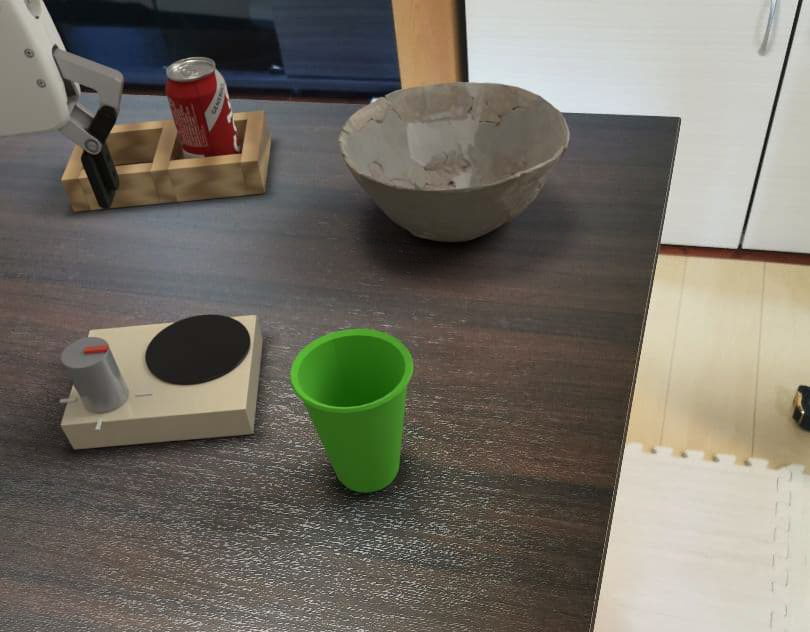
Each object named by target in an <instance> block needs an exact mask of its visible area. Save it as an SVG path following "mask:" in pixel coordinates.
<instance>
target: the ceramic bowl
mask: <svg viewBox="0 0 810 632" xmlns="http://www.w3.org/2000/svg"><path fill="white" fill-rule="evenodd" d="M570 134H571V133H570V128H569V125H568V123H567V121H566V119H565V116H564V115H563V113H562V112H561V111H560V110H559V109H558V108H557V107H555V106H554V105H552V103H551V102H549V101H548V100H546V99H545V98H544V97H542V96H541V95H539V94H537V93H534V92H532V91H530V90H528V89H525V88H522V87H519V86H515V85H509V84H505V83H499V82H475V81H472V82H471V81H470V82H463V81H454V82H453V81H452V82H442V83H435V84H425V85H424V86H422V85H421V86H414V87H408V88H401V89H397V90H394V91H392V92H390V93H387V94H385V95H384V97H383V96H380V97H378V98H377V99H376V100H374V101H372V102H371V103H369V104H366V105H365V106H362V107H361V108H360V109H358V110H356V111H355V112H354V113H353V114H352V115H351V116H349V117H348V119H346V120H345V122H344V124H343V126H342V128H341V131H340V132H339V133H338V142H337V143H338V149H339V152H340V155H341V156H342V160H343V161H344V162H345V164H346V167H347V168H348V170H349V172H350V173H351V174H352V176H353V177H354V179H355V180H356V182H357V183H358V184H359V186H360V187H361V188H362V189H363V191H364V192H365V194H366V195H367V196H368V197H369V198H370V200H372V201H373V202H374V203H375V204H376V205H377V206H378V207H379V208H380V210H382V211H383V214H385V215H386V216H387V217H388V218H389V219H390V220H391V221H393V222H394V223H395V224H396V225H398V226H400V227H401V228H403V229H405V230H407V231H408V232H410V234H412V235H413V236H415V237H417V238H421V239H425V240H426V239H427V240H430V241H436V242H446V243H460V242H469V241H472V240H475V239H477V238H480V237H483V236H485V235H487V234H488V233H491V232H492V231H494V230H496V229H497V228H499V227H501V226H502V225H504V224H505V223H507V222H509V221H511V220H512V219H514V218H516V217H518V216H519V215H520V214H521V213H523V212H524V211H525V210H526V209H527V208H528V207H529V205H531V204H532V202H533V201H534V200H535V199H536V198H537V197H538V195H539V193H540V191H541V190H542V188H543V187H544V186H545V184H546V183H547V182H548V180H549V179H550V177H551V176H552V174H553V172H554V171H555V169H556V167H557V166H558V164H559V162H560V161H561V160H562V158H563V156H564V155H565V153H566V151H567V150H568V146H569V144H570V136H571V135H570Z"/></svg>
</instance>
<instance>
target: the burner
mask: <svg viewBox="0 0 810 632" xmlns="http://www.w3.org/2000/svg"><path fill="white" fill-rule="evenodd" d="M230 317H231V316H227V315H223V314H198V315H194V316H189V317H185V318H182V319H179V320H177V321H174V322H175V323H173V324H171V325H169V326H168V327H166V328H164V329H163V330H162V331H160V332H159V333H158V334H157V335H156V336H155V337H154V338H153V339H152V341H151V342H150V343H149V345H148V347H147V350H146V354H145V361H146V364H147V367H148V369H149V371H150V372H151V373H152V374H153V375H154V376H155V377H157V378H158V379H160V380H162V381H164V382H167V383H171V384H177V385H194V384H201V383H206V382H209V381H212V380H215V379H218V378H220V377H222V376H224V375H226V374H228V373H229V372H231V371H232V370H234V369H235V368H236V367H238V366H239V365H240V364H241V363H242V362H243V360H244V359H245V358H246V356H247V354H248V352H249V350H250V346H251V339H250V335H249V332H248V330H247V329H246V327H245V326H244V325H243V324H242V323H240V322H239V321H237V320H235V319H233V318H230Z"/></svg>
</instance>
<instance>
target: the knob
mask: <svg viewBox="0 0 810 632" xmlns="http://www.w3.org/2000/svg"><path fill="white" fill-rule="evenodd" d="M60 362H61V363H62V365H63V367H64V369H65V372H66V373H67V375H68V377H69V379H70V381H71V383H72V386H73V385H74V387H75V389H76V391H77V393H78V395H79V397H80V399H81V401H82V402H83V404H84V406H85V408H86V409H87V410H89V411H91V412H95V413H105V412H109V411H112V410H115V409H117V408H118V407H120V406H121V405H122V404H124V402H125V401H126V400H127V398H128V396H129V389H128V387H127V384H126V382H125V380H124V378H123V376H122V373H121V371H120V369H119V367H118V364H117V362H116V360H115V358H114V355H113V353H112V351H111V349H110V346H109V344H108V343H107V341H105V340H104V339H102V338H99V337H88V336H87V337H82V338H80V339H76V340H74V341H72V342H71V343H70V344H68V345H66V347H65V348H64V349H63V350H62V352H61V354H60Z"/></svg>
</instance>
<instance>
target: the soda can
mask: <svg viewBox="0 0 810 632" xmlns="http://www.w3.org/2000/svg"><path fill="white" fill-rule="evenodd" d="M165 74H166V77H167V81H166V82H165V83H166V84H165V88H164V92H165V94H166V95H165V96H166V98H167V101H168V105H169V108H170V112H171V115H172V119H174V122H175V126H176V129H177V133H178V136H179V139H180V143H181V146H182V150H183V153H184V157H185V159H193V158H203V157H213V156H223V155H233V154H242V151H241V146H240V142H239V138H238V134H237V129H236V125H235V121H234V117H233V113H234V112H233V109H232V104H231V100H230V95H229V91H228V87H227V83H226V80H225V77H224V75H223V74H222V73H221V72H219V70H218V69H217V66H216V63H215V61H214V60H213V59H211V58H210V57H204V56H193V57H187V58H182V59H180V60H177V61H174V62H173V63H171V64H170V65H169V66H167V68H166V70H165Z"/></svg>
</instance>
